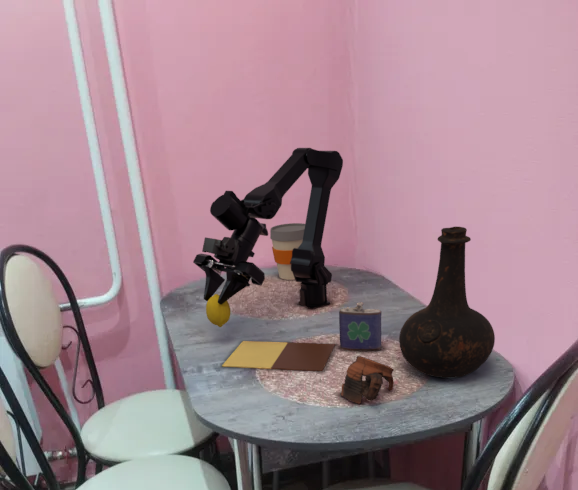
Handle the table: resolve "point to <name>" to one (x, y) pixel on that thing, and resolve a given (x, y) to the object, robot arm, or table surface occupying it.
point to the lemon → (217, 311)
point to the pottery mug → (372, 384)
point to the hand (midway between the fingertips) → (212, 301)
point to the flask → (360, 329)
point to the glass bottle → (448, 320)
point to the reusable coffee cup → (286, 246)
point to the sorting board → (280, 356)
